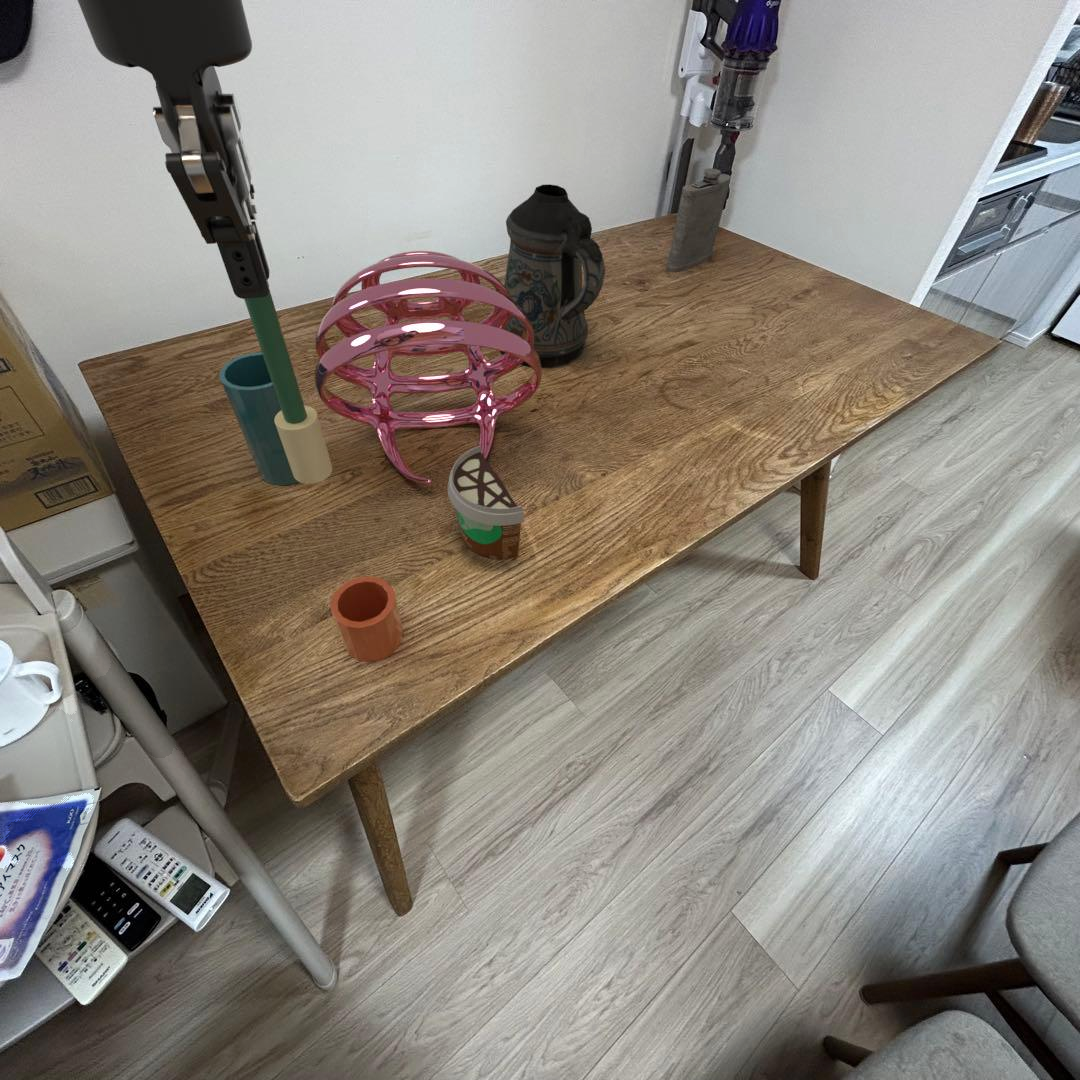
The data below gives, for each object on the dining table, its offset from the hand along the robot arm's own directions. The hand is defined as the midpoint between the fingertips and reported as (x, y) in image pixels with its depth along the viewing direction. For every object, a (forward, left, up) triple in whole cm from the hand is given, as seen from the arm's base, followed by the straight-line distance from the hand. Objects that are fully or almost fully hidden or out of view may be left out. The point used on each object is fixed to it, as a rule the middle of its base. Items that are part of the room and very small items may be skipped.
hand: (253, 286), depth 41 cm
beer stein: (+38, +47, -36) cm, 70 cm away
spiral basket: (+15, +25, -36) cm, 46 cm away
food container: (+16, +5, -36) cm, 40 cm away
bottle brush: (0, 0, -17) cm, 17 cm away
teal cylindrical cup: (-6, +25, -36) cm, 44 cm away
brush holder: (+2, -6, -36) cm, 37 cm away
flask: (+79, +73, -36) cm, 113 cm away
